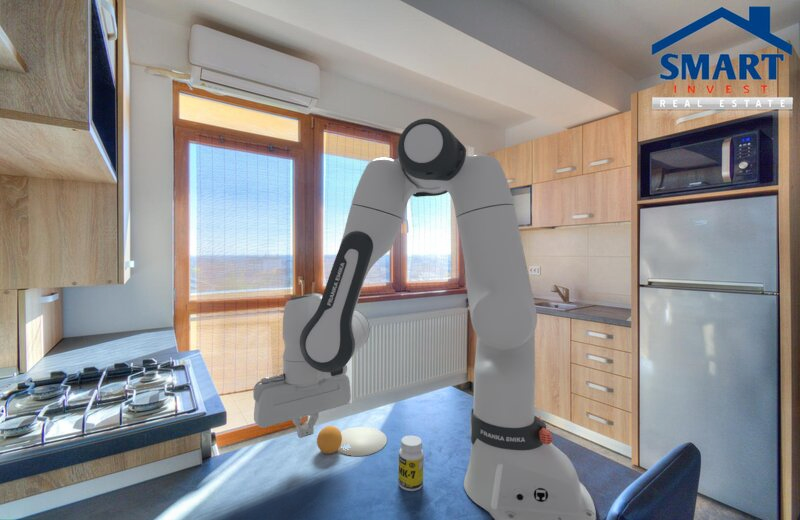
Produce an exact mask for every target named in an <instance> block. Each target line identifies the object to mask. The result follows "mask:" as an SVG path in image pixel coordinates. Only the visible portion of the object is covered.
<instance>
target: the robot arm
mask: <svg viewBox="0 0 800 520" xmlns="http://www.w3.org/2000/svg"><path fill="white" fill-rule="evenodd" d="M466 152H467V148H466V146H465V145H464V144H463V143H462V142H461V141H460V140H459V138H457V137H456V136H455V135H454V133H453V132H452V131H451V130H450V129H449V128H448V127H447V126H445V125H444V124H443V123H442V122H440V121H439V120H435V119H434V118H433V119H432V118H420V119H417V120H415V121H412V122H411V123H409V124H408V125H407V126H406V127H405V128H404V129H403V131H402V133H401V135H400V137H399V139H398V142H397V156H398V158H393V159H392V158H388V157H379V158H375V159H373V160H371V161H370V162H368V163H367V165H366V166H365V168H364V169H363V172H362V174H361V177H360V179H359V181H358V183H357V186H356V189H355V192H354V195H353V197H352V201H351V205H350V208H349V211H348V215H347V219H346V223H345V227H344V231H343V235H342V238H341V242H340V245H339V248H338V251H337V253H336V257H335V259H334V261H333V264H332V267H331V270H330V273H329V276H328V279H327V282H326V284H325V289H324V291H323V293H318V292H313V293H308V294H302V295H298V296H293V297H291V298H289V299H288V300H287V301H286V302H285V305H284V307H283V308H284V309H283V316H282V340H283V344H284V350H283V354H282V374H276V375H273V376H269V377H263V378H261V379H260V381H257V382H256V383H255V385H254V386H253V389H252V391H253V400H254V407H253V410H254V411H253V420H254V423H255V424H256V425H257V426H258V427H259V428H261V429H265V428H268V427H272V426H276V425H279V424H282V423H283V424H284V423H285V422H290V421H292V422H293V424H294V425H295V427H296V428H297V433H296V434H297V436H298V438H299V439H302V438H305V437H308V436H311V435H314V433H315V432H314V427H315V425H316V423H317V422H318V419H319V413H321V412H325V411H329V410H332V409H335V408H339V407H343V406H346V405H349V402H350V400H351V383H350V378H349V376H348V375H347V372H348V366H347V364H348V362H350V361H351V359H352V357H353V356H354V355H355V354H356V353H357V352H359V351H360V349H362V347H363V346H364V345H365V344H366V343H367V341H368V340H369V338H370V333H371V332H370V331H371V330H370V324H369V321H368V319H367V318H366V316H365V315H364V314H363V313H362V312H360V311H359V310H357V309H356V308H357V305H358V301H359V298H360V296H361V292H362V289H363V286H364V283H365V280H366V278H367V276H368V273H369V272H370V270H371V268H372V267H373V266H374V265H375V264H376V263H377V262H378V261H379V260H380V259H381V258H382V257H384V256H385V255H386V254H387V253H388V252H389V251H391V249H392V247H393V245H394V244H395V241H396V240H397V237H398V235H399V232H400V229H401V226H402V223H403V219H404V216H405V211H406V208H407V205H408V203H409V200H410V198H411V197H412V196H413V197H415V198H420V197H436V196H437V197H438V196H442V195H445V194H447V193H448V194H449V196H450V197H451V200H452V202H453V203H452V204H453V208H454V213H455V218H456V223H457V229H458V233H459V239H460V244H461V245H460V246H461V249H462V255H463V261H464V262H463V263H464V272H465V283H466V292H467V299H468V300H467V301H468V308H469V314H470V315H469V316H470V322H471V326H472V329H473V331H474V333H475V335H476V346H475V347H476V349H475V358H474V359H475V360H474V367H473V368H474V369H473V408H471V414H470V420H469V421H470V422H469V423H470V425H469V436H470V442H471V447H470V448H471V449H470V454H469V460H468V464H467V468H466V469H467V470H466V474H465V477H464V479H463V488H464V490H465V493H466V494H467V496H468V497H469V498H470V500H472V501H473V502H474V503H475V504H476V505H478V506H479V507H481V508H483V509H484V510H485V511H486V512H488V513H489V514H490V516H491V517H492V518H493V519H494V520H597V511H596V507H595V504H594V501H593V498H592V496H591V495H590V493H589V491H588V490H587V488H586V487H585V486H584V484H583V483H582V482H581V481H580V479H579V476H578V473H577V470H576V468H575V466H574V464H573V463H572V460H571V459H570V458H569V457H568V456H567V455H566V454H565V453H564V452H563V451H562V450H560V449H559V448H558V447H557V446H555V445H554V443H553V440H554V439H553V436H552V434H551V431H550V430H549V429H547V424H546V423H545V422H544V421H543V419H542V417H541V415H538V416H536V415H535V405H536V404H535V403H536V401H535V400H536V399H535V398H536V395H535V394H536V370H535V369H536V361H535V360H536V358H535V357H536V354H535V353H536V351H535V350H536V348H535V347H536V346H535V343H536V341H535V337H536V336H535V334H536V333H535V331H536V327H537V323H538V313H537V308H536V304H535V303H536V302H535V299H534V295H533V294H534V293H533V291H532V290H533V289H532V285H531V279H530V275H529V271H528V267H527V260H526V257H525V252H524V246H523V241H522V237H521V233H520V228H519V227H520V226H519V222H518V217H517V213H516V207H515V203H514V199H513V195H512V191H511V188H510V185H509V182H508V179H507V177H506V174H505V172H504V171H505V170H503V168H502V165H501V163H500V161H499V160H498V158H496V157H494V156H492V155H488V154H475V155H474V154H473V155H466V154H467V153H466ZM307 416H310V417H309V420H308V421H307V424H303V425H301V423H302V422H303V418H304V417H307Z"/></svg>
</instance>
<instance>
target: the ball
mask: <svg viewBox="0 0 800 520" xmlns="http://www.w3.org/2000/svg"><path fill="white" fill-rule="evenodd" d="M341 442H342V435H341V430H340V429H339V428H338V427H336V426H334V425H327V426H325V427H323V428H322V429H321V430H320V431H319V432H318V435H317V438H316V445H317V448H318V449H319V451H320V452H322V453H324V454H333V453H335V452H337V450H338V448H339V447H340V445H341Z"/></svg>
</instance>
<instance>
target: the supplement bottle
mask: <svg viewBox="0 0 800 520" xmlns="http://www.w3.org/2000/svg"><path fill="white" fill-rule="evenodd" d="M422 448H423V441H422V439H421V437H419V436H416V435H405V436H403V437H402V438H401V440H400V449H399V451H398V475H397V476H398V479H397V480H398V481H397V482H398V486H399V487H400V488H401V489H402V490H404V491H409V492H415V491H418V490H420V489H422V488H423V485H424V459H425V458H424V456H425V455H424V450H423V449H422Z"/></svg>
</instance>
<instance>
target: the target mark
mask: <svg viewBox="0 0 800 520" xmlns="http://www.w3.org/2000/svg"><path fill="white" fill-rule="evenodd" d="M340 432H341V435H342V442H341V445H340V447H339V448H338V450H337V451H336V452H337V453H339V452H340V453H339V454H341V453H343V454H342V455H344V454H347V455H346V456H348V455H351V456H350V457H363V456H364V457H365V456H369V455H373V454H376V453H378V452H380V451H382V449H384V448H385V446H386V444H387V440H388V439H387V436H386V434H385V433H384V432H383V431H381V430H379V429H377V428H373V427H369V426H368V427H367V426H357V427H356V426H355V427H349V428H345V429H343V430H340ZM348 443H349V445H350V447H351V448H348V449H349V450H347V449H345V448H344V449H345V450H346V451H345V450H343V448H341V446H342V447H343V446H344V444H345V446H346V445H347V444H348Z"/></svg>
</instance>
